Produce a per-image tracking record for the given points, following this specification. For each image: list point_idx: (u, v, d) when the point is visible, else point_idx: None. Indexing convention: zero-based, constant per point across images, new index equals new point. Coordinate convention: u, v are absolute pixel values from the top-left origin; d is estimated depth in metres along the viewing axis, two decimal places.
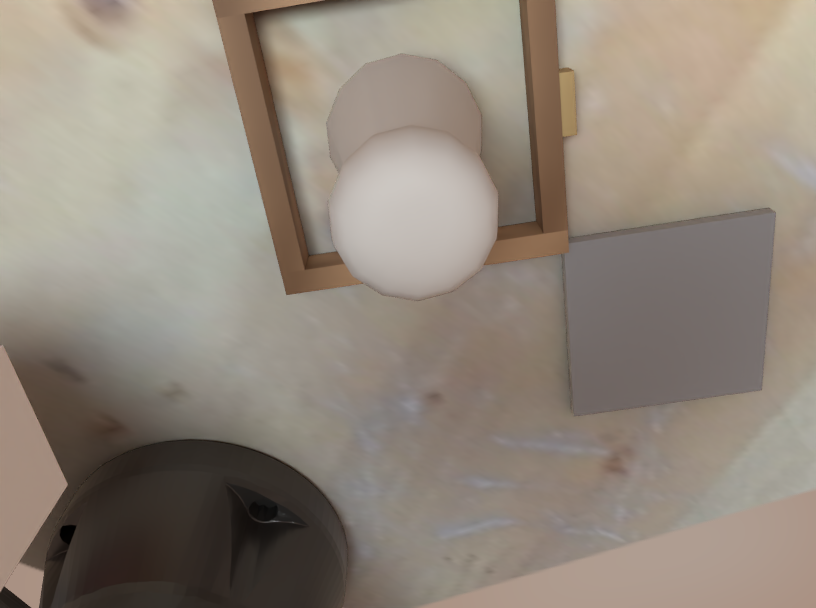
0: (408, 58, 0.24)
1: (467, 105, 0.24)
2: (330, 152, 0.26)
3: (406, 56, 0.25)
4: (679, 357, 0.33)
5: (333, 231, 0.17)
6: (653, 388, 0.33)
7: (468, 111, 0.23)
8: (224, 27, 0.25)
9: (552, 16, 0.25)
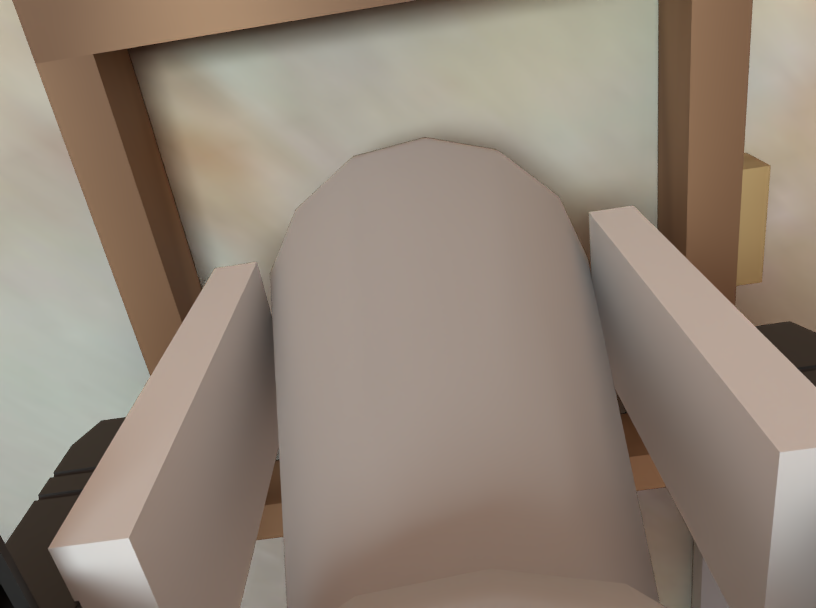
0: (441, 151, 0.11)
1: (575, 264, 0.11)
2: None
3: (436, 147, 0.11)
4: None
5: None
6: None
7: (579, 280, 0.10)
8: (54, 82, 0.12)
9: (741, 59, 0.12)
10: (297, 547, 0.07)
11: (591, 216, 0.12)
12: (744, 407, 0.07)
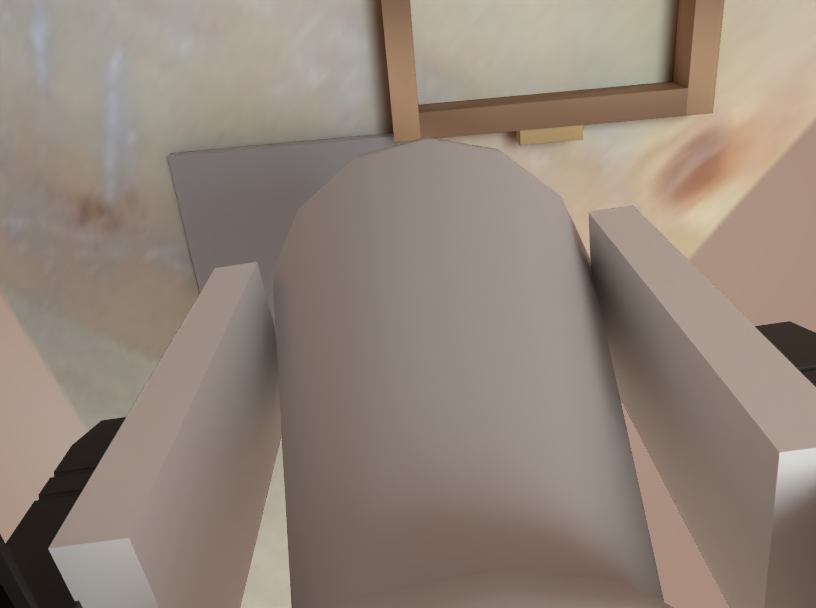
0: (444, 152, 0.11)
1: (577, 264, 0.11)
2: None
3: (439, 147, 0.11)
4: None
5: None
6: (211, 245, 0.29)
7: (581, 280, 0.10)
8: None
9: (638, 116, 0.26)
10: (302, 547, 0.07)
11: (591, 216, 0.12)
12: (744, 407, 0.07)
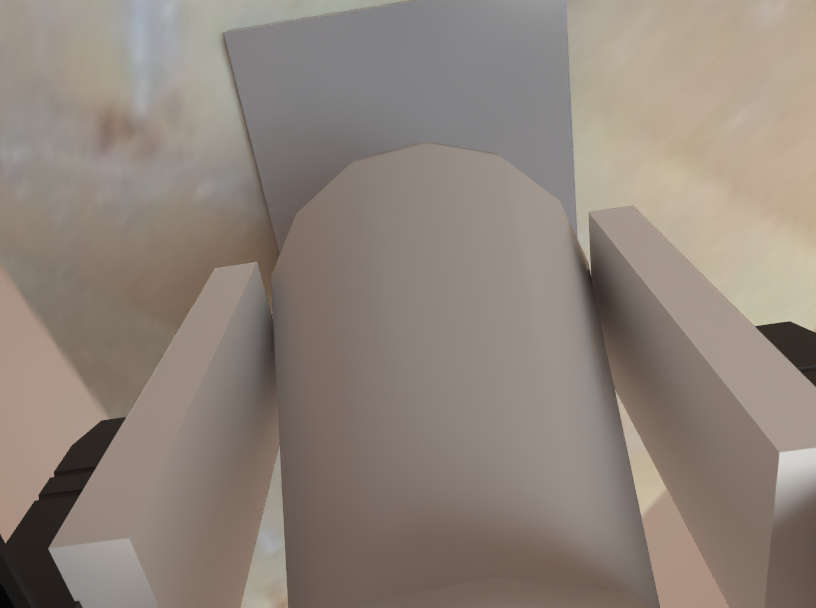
0: (442, 155, 0.11)
1: (575, 268, 0.11)
2: None
3: (437, 151, 0.11)
4: None
5: None
6: (292, 168, 0.20)
7: (579, 285, 0.10)
8: None
9: None
10: (299, 553, 0.07)
11: (591, 216, 0.12)
12: (743, 407, 0.07)
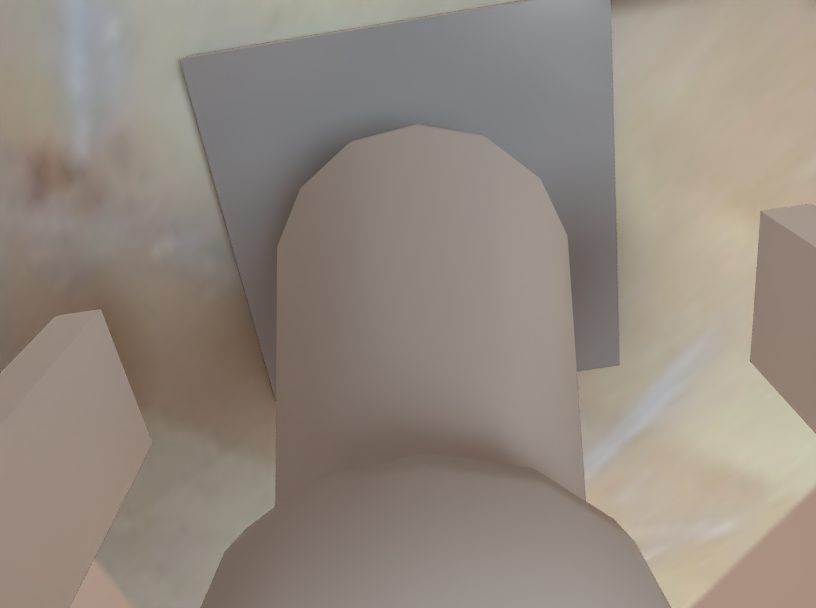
0: (431, 135, 0.12)
1: (548, 237, 0.12)
2: None
3: (427, 132, 0.13)
4: None
5: None
6: (268, 224, 0.16)
7: (551, 252, 0.12)
8: None
9: None
10: (286, 463, 0.08)
11: (766, 215, 0.11)
12: None
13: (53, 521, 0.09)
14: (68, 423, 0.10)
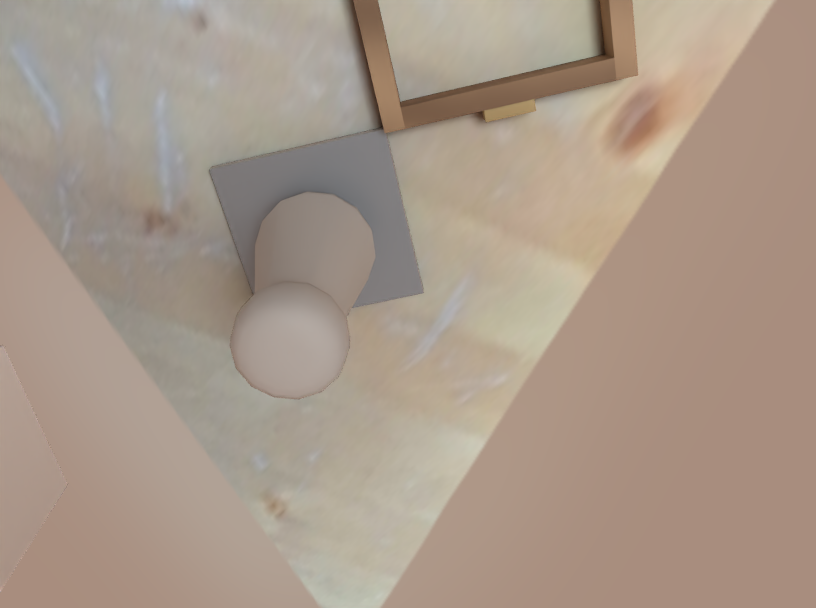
0: (310, 197, 0.32)
1: (353, 233, 0.32)
2: None
3: (308, 195, 0.33)
4: None
5: None
6: (251, 236, 0.36)
7: (353, 238, 0.31)
8: None
9: (577, 86, 0.32)
10: None
11: None
12: None
13: None
14: None
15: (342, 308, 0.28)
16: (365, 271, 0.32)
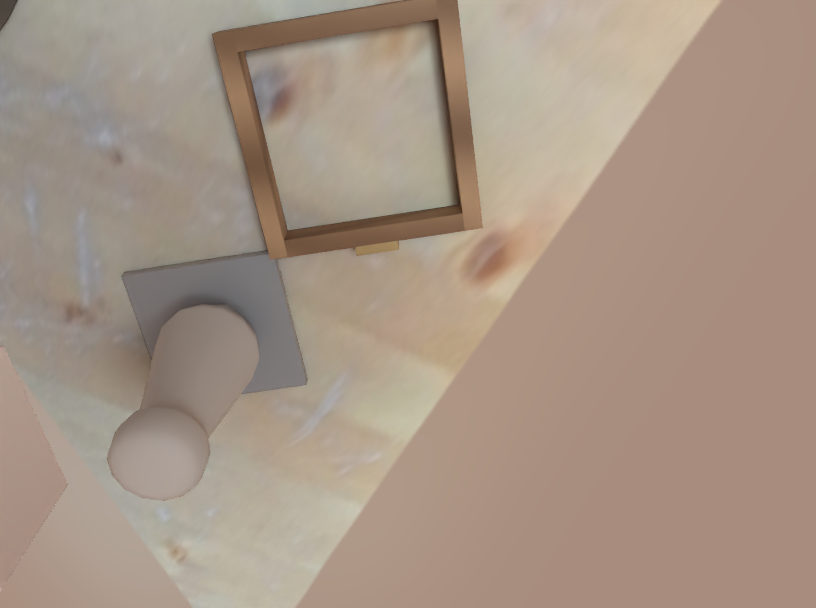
0: (201, 311, 0.38)
1: (234, 346, 0.38)
2: None
3: (201, 310, 0.39)
4: None
5: (110, 468, 0.31)
6: (157, 331, 0.42)
7: (234, 351, 0.38)
8: (429, 1, 0.34)
9: (432, 233, 0.39)
10: None
11: None
12: None
13: None
14: None
15: (212, 419, 0.34)
16: (244, 377, 0.38)
